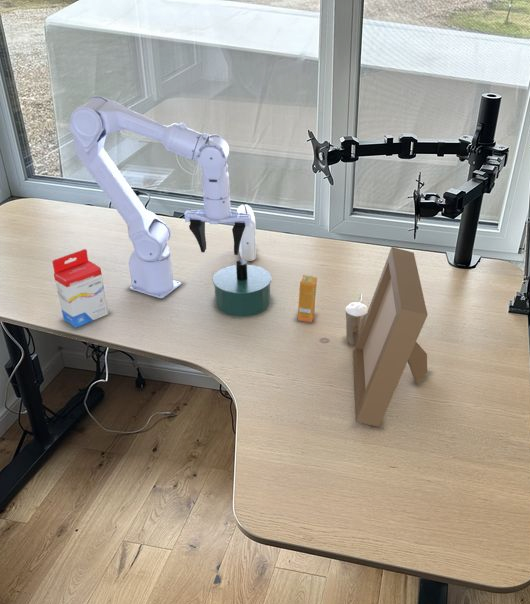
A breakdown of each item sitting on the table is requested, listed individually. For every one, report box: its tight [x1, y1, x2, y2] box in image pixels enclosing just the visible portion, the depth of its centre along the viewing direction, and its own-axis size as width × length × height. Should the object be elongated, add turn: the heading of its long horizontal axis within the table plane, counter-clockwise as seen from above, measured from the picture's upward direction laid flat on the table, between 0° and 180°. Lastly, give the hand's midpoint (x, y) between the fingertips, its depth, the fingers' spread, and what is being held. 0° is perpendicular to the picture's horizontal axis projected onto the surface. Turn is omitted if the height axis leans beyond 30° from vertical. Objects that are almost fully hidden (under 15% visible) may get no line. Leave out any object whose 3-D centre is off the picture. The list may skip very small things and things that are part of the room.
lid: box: [212, 259, 272, 295], centre depth 147 cm, size 13×13×5 cm
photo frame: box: [352, 246, 428, 428], centre depth 120 cm, size 15×22×25 cm
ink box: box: [52, 248, 109, 329], centre depth 141 cm, size 8×5×15 cm, turn 138°
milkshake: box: [345, 293, 369, 346], centre depth 137 cm, size 4×5×10 cm
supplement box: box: [297, 274, 318, 323], centre depth 144 cm, size 3×3×10 cm
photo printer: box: [236, 204, 257, 262], centre depth 169 cm, size 10×4×12 cm, turn 10°
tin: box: [213, 284, 271, 318], centre depth 150 cm, size 12×12×6 cm
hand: (220, 251), depth 150 cm, fingers open, 7 cm apart
